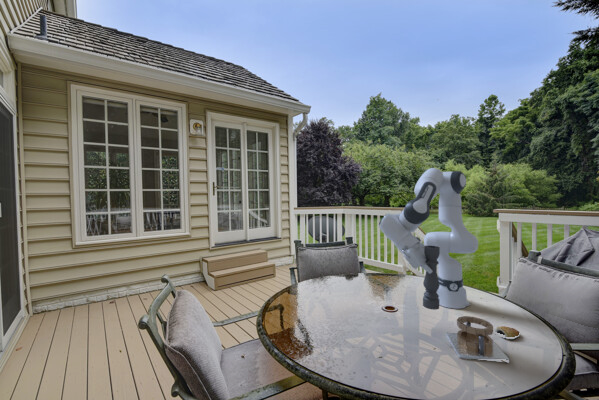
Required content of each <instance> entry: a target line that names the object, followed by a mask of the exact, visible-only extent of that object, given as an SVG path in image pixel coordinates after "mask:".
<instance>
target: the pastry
mask: <svg viewBox="0 0 599 400" xmlns="http://www.w3.org/2000/svg"><path fill="white" fill-rule="evenodd" d="M494 331H495V332H497V333H500V334H503V335H505V337H515V336H518V335H519V333H520V330H517V329H516V328H514V327H509V326H506V325H505V326H503V325H501V326H497V327H496V328H495V330H494ZM520 334H521V333H520Z"/></svg>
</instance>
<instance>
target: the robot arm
mask: <svg viewBox="0 0 599 400" xmlns="http://www.w3.org/2000/svg"><path fill="white" fill-rule="evenodd" d="M466 185H467V178H466V175H465V174H464V173H463V172H462V171H459V170H454V171H442V170H441V169H439V168H437V167H431V168H428V169H426V170H425V171H424V172H423V173H422V174H421V175H420V177H419V179H418V180H417V182H416V183H415V186H414V190H413V192H414V195H415V197H414V199H411V200H409V201H408V202H407V203H406V205H405V206H404V208H403V210H401V212H399V213H390V212H388V213H385V214H384V215H383V217H382V218H381V219H380V221H379V223H378V228H379V229H380V230H381V232H382V233H383V234H384V236H386V238H387V239H388V240H390V241H391V242H392V243H393V244H394V246H395V248H397V250H399V252H400V253H401V254H402V255H403V257H404V259H405V260H406V261H407V263H408V264H409V265H410V266H411V267H412V268H413V269H415V270H417V269H418V268H420V267H421V269H423V270H424V271H425V272H426V271H427V272H428V273H429V274H431V273H432V272H433V269H432V268H431V267H429V266H427V264H426V263H425V261H426V260H427V258H426V257H425V254H424V246H437V247H440V254H439V257H438V259H437V261H438V262H439V264H437V269H438V280H439V284H440V286H439V289H438V290H437V292H436V293H437V294H438V295H439V298H438V299H439V306H440V307H441V306H442V307H444V308H449V309H456V310H457V309H464V308H466V307H468V306H471V303H470V302H469V301H468V298H467V290H466V288H465V287H464V279H463V267H462V264H461V263H460V261H458V259H455V258H452V256H450V254H449V253H452V254H462V255H463V254H465V255H466V254H475V252H476V251H477V250H478V248H479V241H478V238H477V237H476V236H475V234H472V233H471V232H470V231H469V230H468V229H467V228H466V226H465V224H464V221H463V213H462V211H463V210H462V208H463V207H462V196H461V193H462V191H463V190H464V189H465V188H466ZM438 194H439V196H438V197H439V199H438V221H439V222H440V223H441V224H443V225H444V226H446V227H448V228H450V229H451V231H431V232H427V233H426V234H425V235H424V238H423V242H422V239H420V238H419V237H418V236H415V235H414V234H413V233H414V232H415V231H416V230H417V229H418V228H419V227H420V226H421V225H422V223H424V222H425V221H426V220H428V219H429V217H430V213H431V210H430V205H431V202H432V201H433V200H434V198H436V196H437V195H438Z"/></svg>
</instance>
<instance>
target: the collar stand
mask: <svg viewBox="0 0 599 400" xmlns="http://www.w3.org/2000/svg"><path fill="white" fill-rule="evenodd" d="M472 324H476V325H479V326H480V325H481V326H482V327H484V328H479V327H473V326H472ZM456 325H457V327H458V328H459V329H460V330H458V331H457V332H445V336H446V339H447V340H448V341H449V344H450V345H451V347H452V348H453V350H454V352H455V354H456V356H457V358H458V359H464V360H471V359H506V360H509V361H510V358H509V357H508V356H507V355H506V354H505V353H504V352H503V350H502V349H501V348H500V347H499V346H498V344H496V343H495V342H494V339H493V338H492V337H491V336H492V335H493V333H494V326H493V324H492V323H490V322H489V321H487V320H485V319H483V318H480V317H476V316H470V315H469V316H467V315H464V316H463V315H462V316H459V317H458V318H457V319H456ZM490 335H491V336H490Z"/></svg>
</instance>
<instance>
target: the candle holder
mask: <svg viewBox="0 0 599 400" xmlns="http://www.w3.org/2000/svg"><path fill="white" fill-rule="evenodd" d="M424 254H425V257H426V258H427V260H426V261H425V263H426V264H427V266H429V267H431V268H432V269H433V272H432V273H431V274H429V273H428V272H427V271H426V270H425V275H424V279H423V287H424V289H425V291H424V292H423V296H422V306H423V307H424V308H426V309H428V310H434V311H435V310H439V309H440V305H439V299H438V298H439V295H438V294H437V293H436V292H437V290H438V289H439V286H440V284H439V280H438V276H439V274H438V272H437V271H438V270H437V269H438V264H439V262H438V261H437V259H438V257H439V254H440V247H437V246H424Z"/></svg>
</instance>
